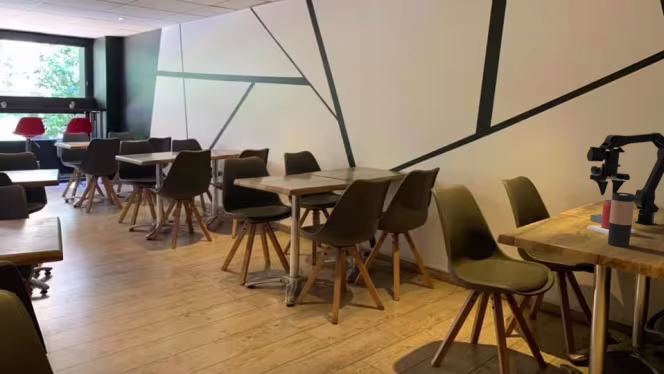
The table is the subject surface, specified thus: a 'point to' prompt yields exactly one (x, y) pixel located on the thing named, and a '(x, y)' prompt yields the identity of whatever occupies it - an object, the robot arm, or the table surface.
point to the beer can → (606, 214)
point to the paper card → (602, 229)
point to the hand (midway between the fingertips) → (608, 195)
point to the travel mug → (621, 219)
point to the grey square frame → (596, 218)
